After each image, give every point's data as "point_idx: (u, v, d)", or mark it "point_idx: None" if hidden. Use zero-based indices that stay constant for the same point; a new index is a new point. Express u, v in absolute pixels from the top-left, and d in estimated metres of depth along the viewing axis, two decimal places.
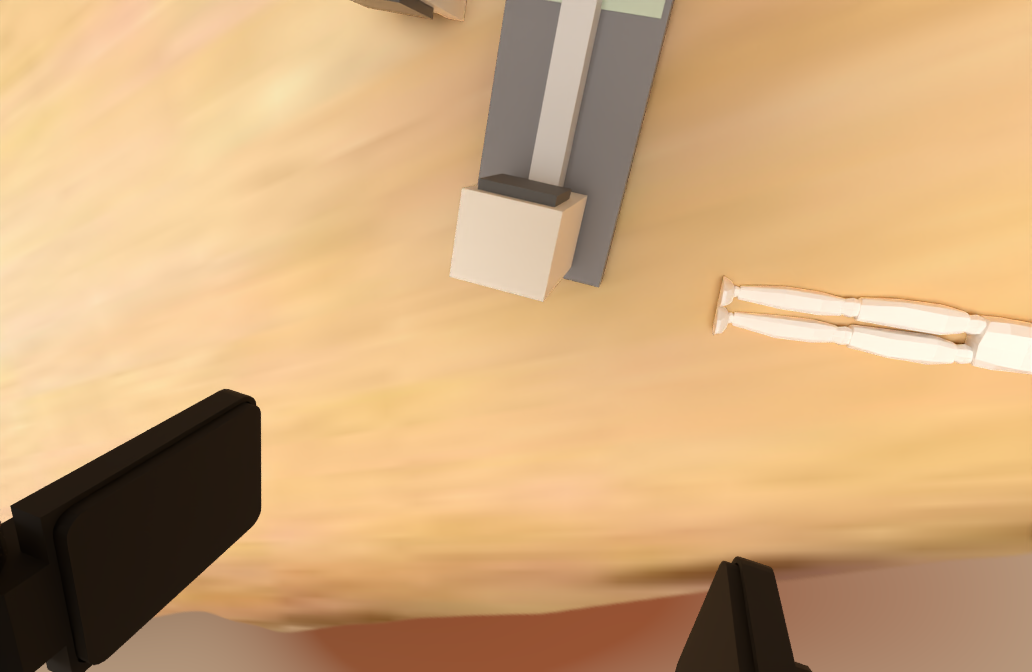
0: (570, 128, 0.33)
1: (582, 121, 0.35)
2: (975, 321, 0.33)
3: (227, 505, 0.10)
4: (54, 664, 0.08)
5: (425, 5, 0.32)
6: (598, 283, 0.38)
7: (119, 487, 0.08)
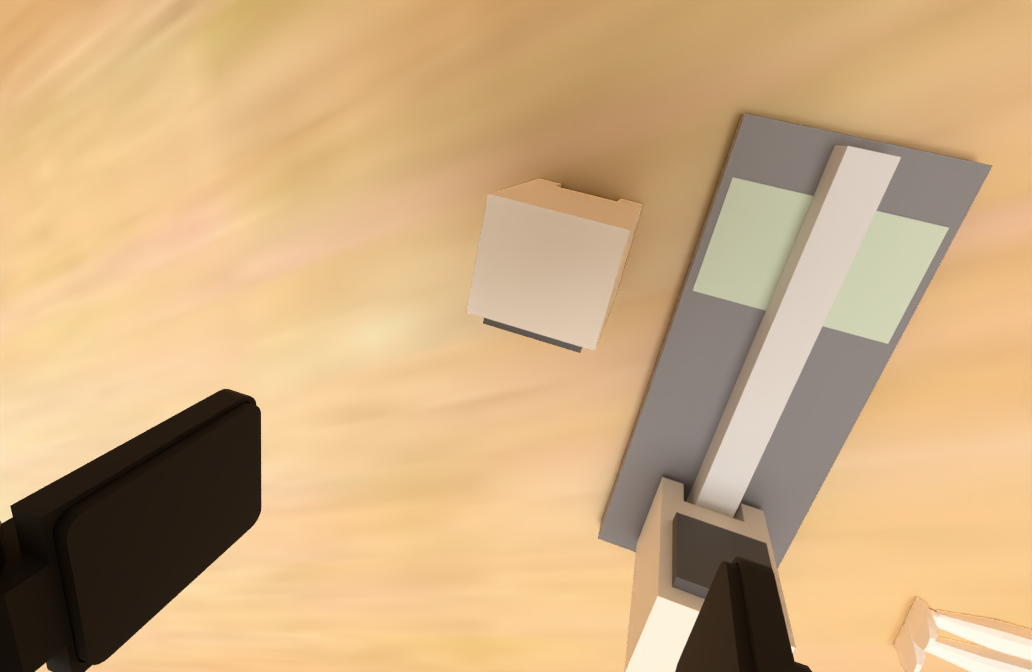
0: None
1: None
2: None
3: (227, 505, 0.10)
4: (54, 665, 0.08)
5: None
6: None
7: (119, 487, 0.08)
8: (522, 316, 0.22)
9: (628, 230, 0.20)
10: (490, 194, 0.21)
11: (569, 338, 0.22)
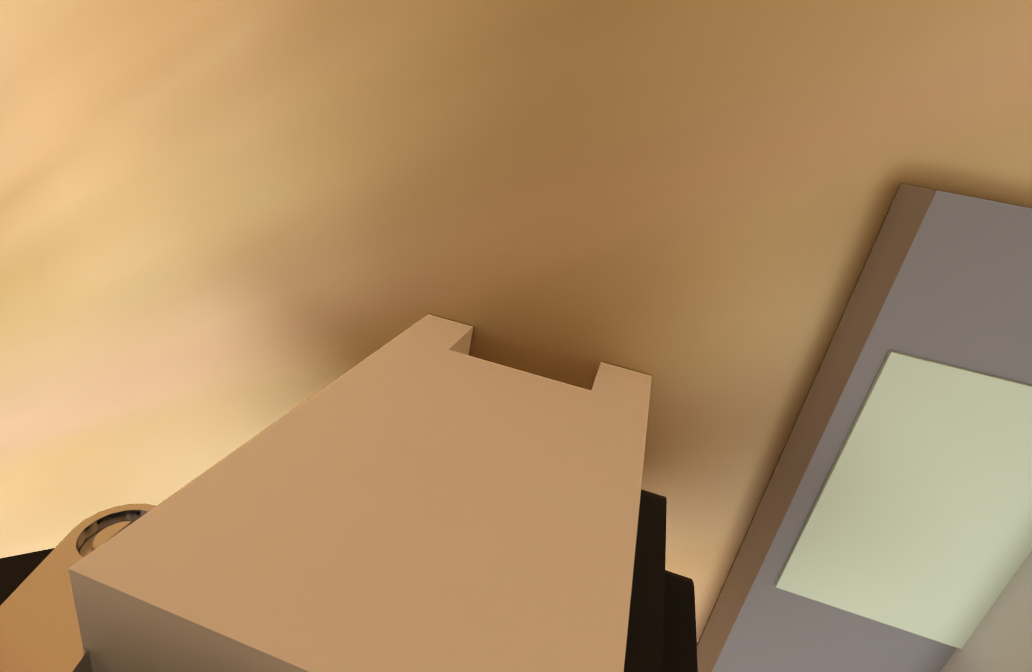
0: None
1: None
2: None
3: None
4: None
5: None
6: None
7: None
8: None
9: None
10: (81, 568, 0.06)
11: None
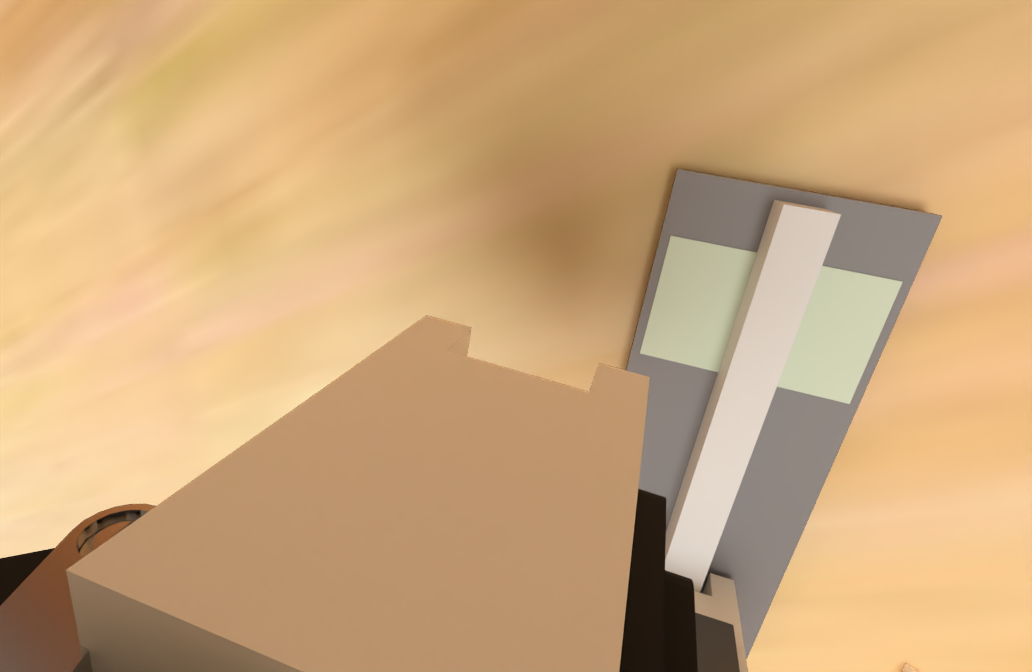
0: None
1: None
2: None
3: None
4: None
5: None
6: None
7: None
8: None
9: None
10: (79, 570, 0.06)
11: None
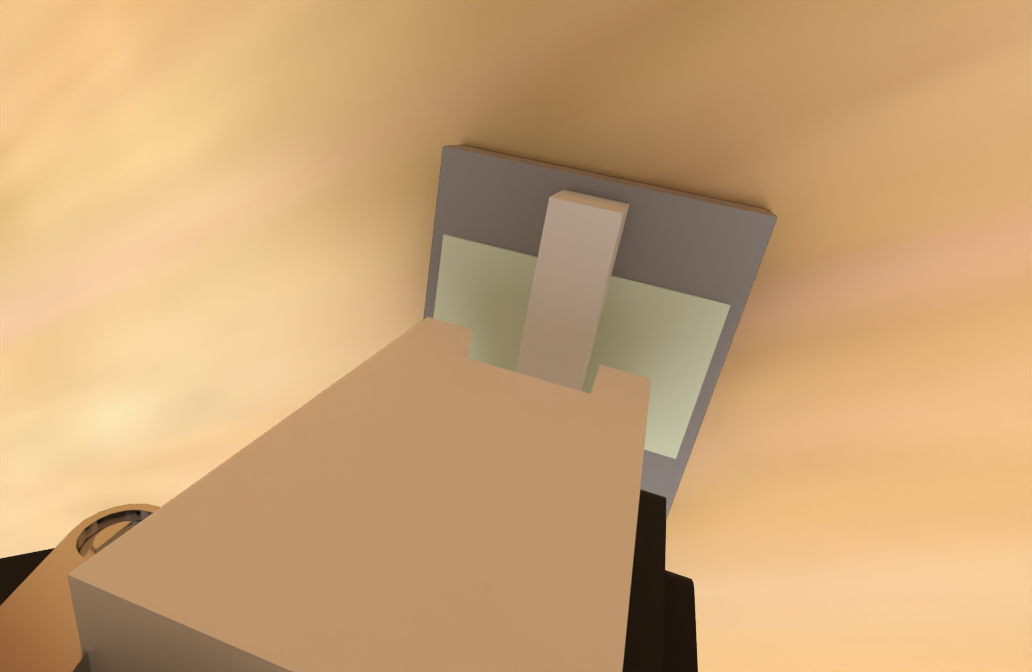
0: None
1: None
2: None
3: None
4: None
5: None
6: None
7: None
8: None
9: None
10: (80, 574, 0.06)
11: None
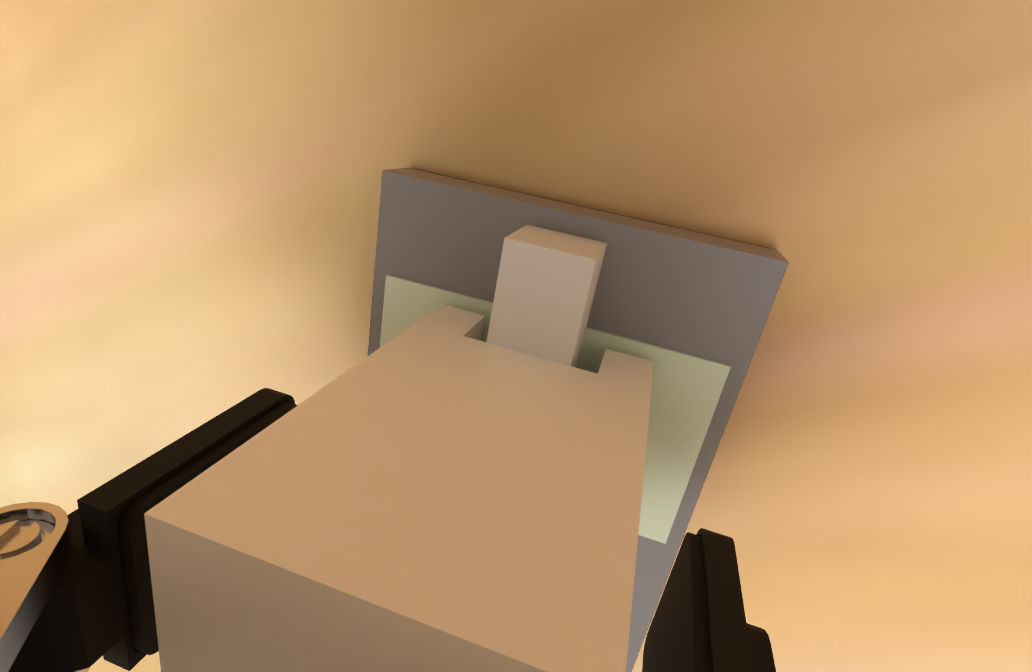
0: None
1: None
2: None
3: None
4: (110, 655, 0.08)
5: None
6: None
7: (175, 483, 0.08)
8: None
9: None
10: (155, 514, 0.06)
11: None
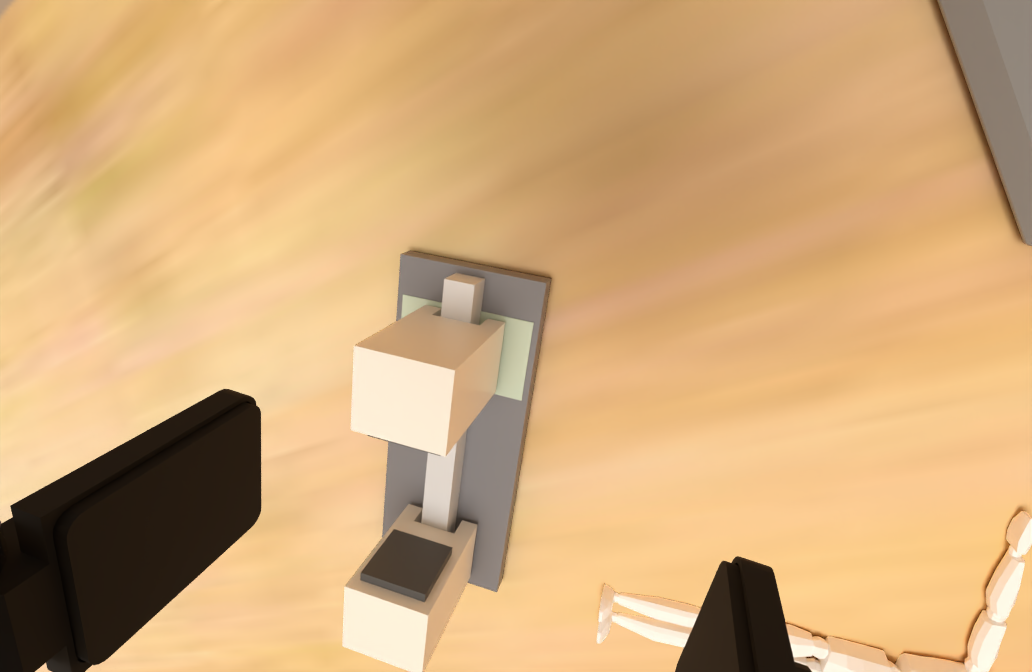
0: (452, 484, 0.38)
1: (467, 466, 0.39)
2: (818, 649, 0.36)
3: (227, 505, 0.10)
4: (54, 665, 0.08)
5: None
6: (496, 589, 0.42)
7: (119, 487, 0.08)
8: (390, 432, 0.29)
9: (454, 370, 0.27)
10: (356, 345, 0.28)
11: (426, 447, 0.29)
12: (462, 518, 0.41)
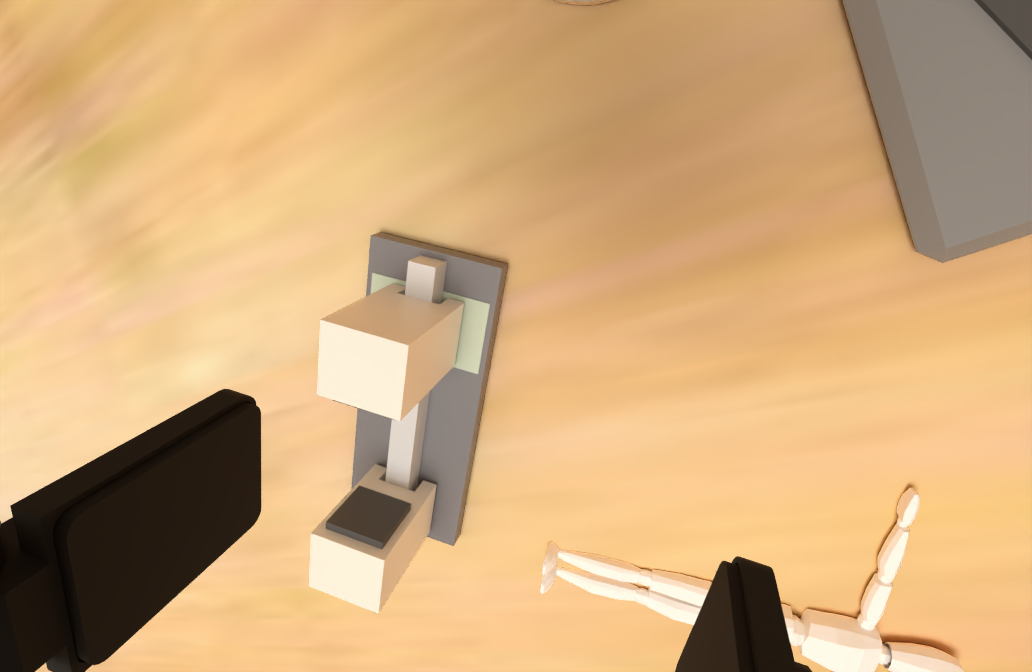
0: (413, 447, 0.42)
1: (428, 431, 0.43)
2: None
3: (227, 505, 0.10)
4: (54, 665, 0.08)
5: None
6: (453, 543, 0.46)
7: (119, 487, 0.08)
8: (352, 398, 0.32)
9: (408, 345, 0.30)
10: (322, 320, 0.31)
11: (383, 412, 0.32)
12: (423, 478, 0.45)
